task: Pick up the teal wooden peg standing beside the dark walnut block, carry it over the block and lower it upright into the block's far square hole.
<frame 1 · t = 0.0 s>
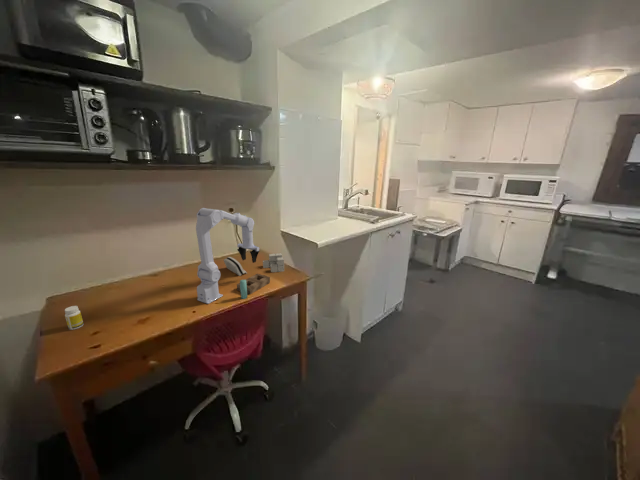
hand: (249, 261, 158), 10 cm above the table, tool pointing down, fingers open, 7 cm apart
supplement bottle: (76, 327, 113), on the table
hole block: (254, 286, 150), on the table
peg: (244, 297, 138), on the table
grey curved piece: (234, 271, 169), on the table
puzzle cube: (273, 269, 175), on the table
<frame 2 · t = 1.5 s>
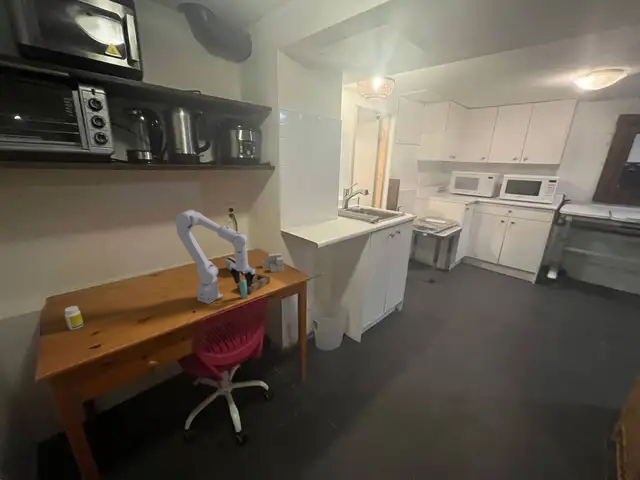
hand: (243, 284, 136), 7 cm above the table, tool pointing down, fingers open, 7 cm apart
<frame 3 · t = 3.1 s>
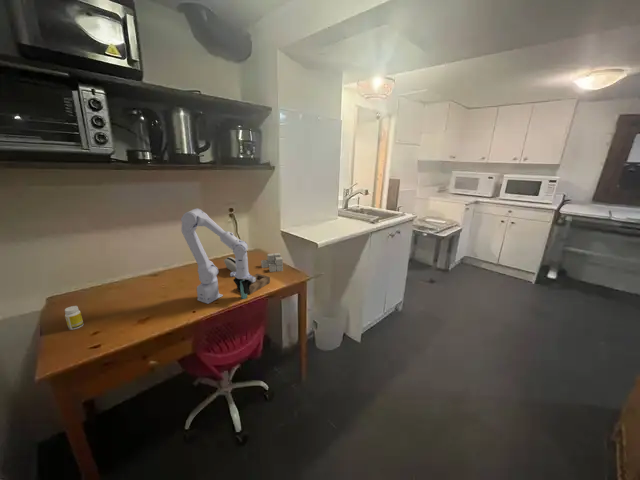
hand: (243, 292, 137), 3 cm above the table, tool pointing down, fingers closed on peg, 3 cm apart
peg: (244, 297, 138), on the table, touching gripper
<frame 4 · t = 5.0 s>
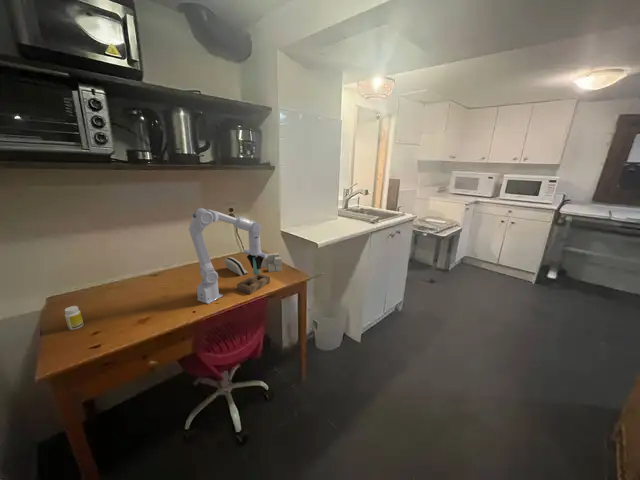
hand: (256, 268, 148), 10 cm above the table, tool pointing down, fingers closed on peg, 3 cm apart
peg: (256, 273, 149), point 7 cm above the table, touching gripper
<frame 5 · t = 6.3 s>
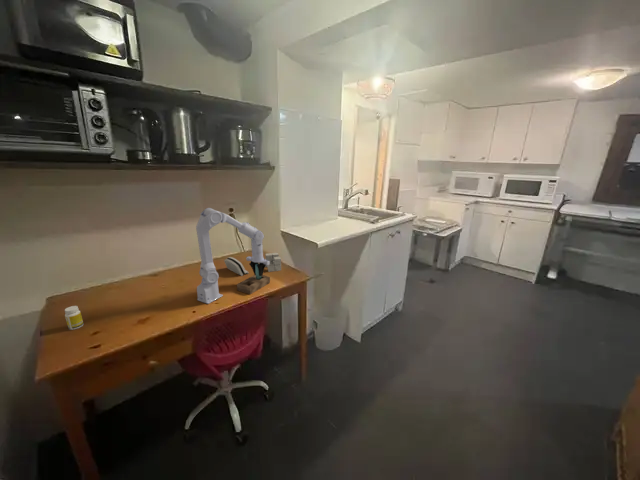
hand: (258, 274, 152), 5 cm above the table, tool pointing down, fingers closed on peg, 3 cm apart
peg: (258, 279, 153), point 2 cm above the table, touching gripper
when the fingers open (4 cm above the table, at t = 7.3 s): peg drops 1 cm, resting in hole block.
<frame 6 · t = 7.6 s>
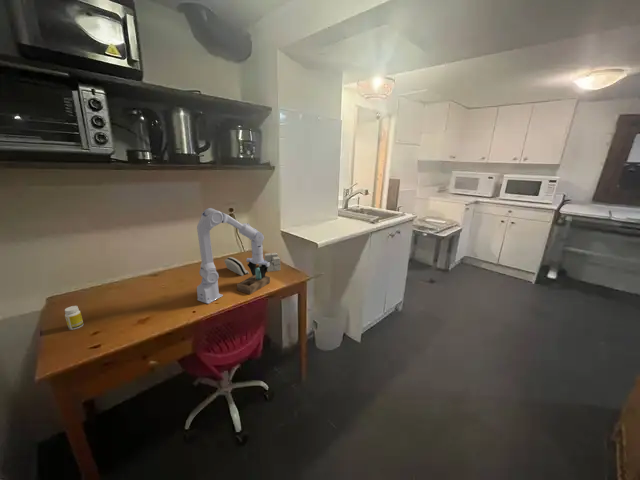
hand: (258, 276, 152), 4 cm above the table, tool pointing down, fingers open, 6 cm apart
peg: (259, 283, 153), resting in hole block
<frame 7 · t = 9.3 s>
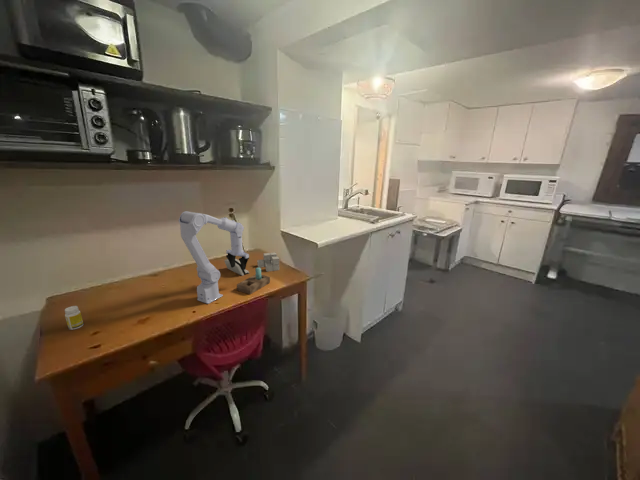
hand: (238, 268, 150), 9 cm above the table, tool pointing down, fingers open, 7 cm apart
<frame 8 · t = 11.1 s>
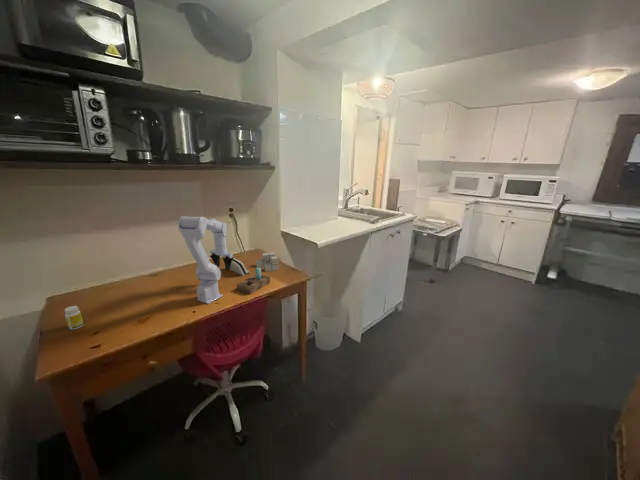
hand: (222, 268, 149), 9 cm above the table, tool pointing down, fingers open, 7 cm apart
at the end: peg 0.1 cm from the target spot on the hole block, point 0.0 cm above the hole block's base; peg tilted 0°; the gripper is holding nothing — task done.
